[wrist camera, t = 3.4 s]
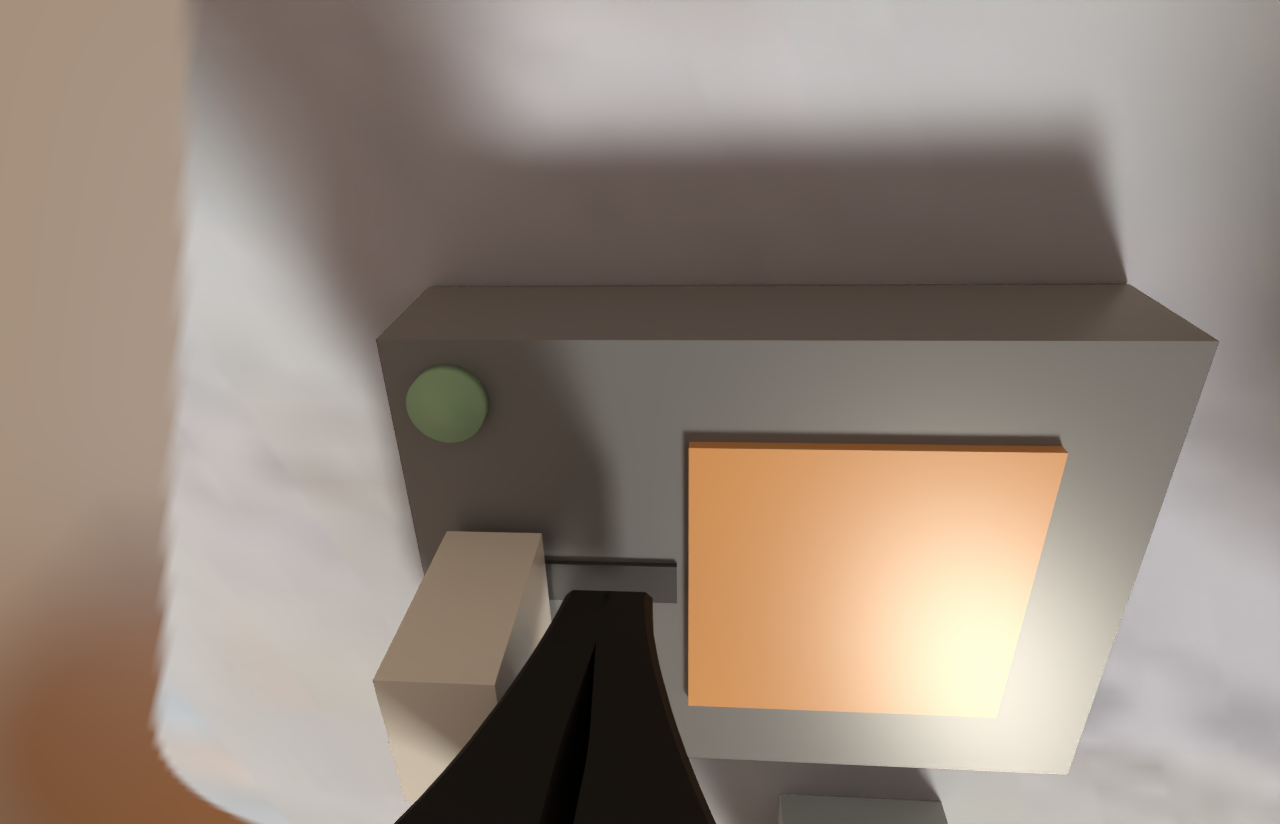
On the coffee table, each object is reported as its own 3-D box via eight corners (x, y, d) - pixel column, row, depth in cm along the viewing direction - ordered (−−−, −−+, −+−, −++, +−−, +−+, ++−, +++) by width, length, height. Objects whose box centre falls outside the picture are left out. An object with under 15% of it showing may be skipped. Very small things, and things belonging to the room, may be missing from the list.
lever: (541, 532, 12) (494, 685, 10) (553, 641, 14) (514, 806, 11) (447, 530, 13) (372, 680, 10) (466, 638, 14) (404, 800, 11)
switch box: (1129, 283, 13) (1232, 349, 10) (1019, 674, 17) (1073, 788, 14) (429, 286, 14) (368, 348, 11) (489, 656, 18) (454, 760, 15)
